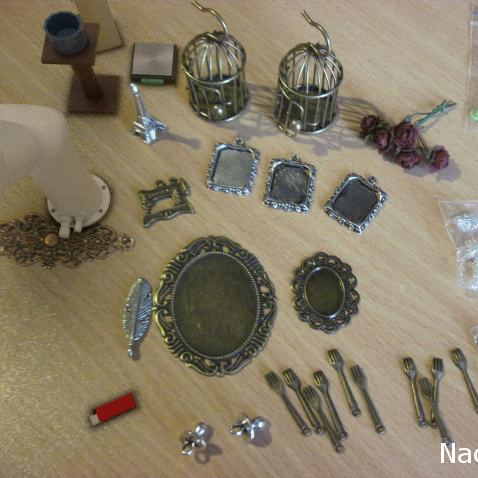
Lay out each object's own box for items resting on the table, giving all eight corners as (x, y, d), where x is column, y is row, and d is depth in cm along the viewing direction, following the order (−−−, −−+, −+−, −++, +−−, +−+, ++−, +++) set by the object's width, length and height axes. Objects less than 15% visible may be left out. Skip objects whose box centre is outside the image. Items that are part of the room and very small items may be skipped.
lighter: (135, 406, 103) (92, 425, 101) (136, 407, 104) (94, 426, 102) (130, 392, 104) (87, 411, 102) (131, 393, 105) (89, 411, 103)
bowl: (86, 56, 110) (79, 40, 106) (49, 54, 109) (41, 38, 105) (90, 28, 113) (83, 11, 108) (54, 26, 112) (46, 9, 108)
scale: (174, 86, 131) (173, 79, 128) (131, 85, 130) (129, 78, 127) (177, 49, 135) (176, 42, 132) (135, 48, 134) (133, 40, 131)
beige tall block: (82, 29, 134) (52, -44, 114) (112, 21, 136) (88, -52, 116) (92, 54, 132) (63, -16, 112) (122, 45, 133) (99, -24, 114)
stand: (114, 114, 126) (93, 62, 110) (69, 112, 125) (40, 60, 109) (119, 78, 130) (98, 23, 113) (74, 76, 129) (47, 20, 112)
